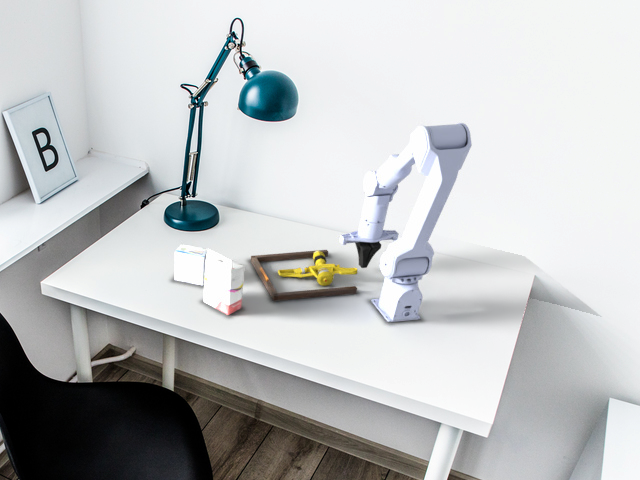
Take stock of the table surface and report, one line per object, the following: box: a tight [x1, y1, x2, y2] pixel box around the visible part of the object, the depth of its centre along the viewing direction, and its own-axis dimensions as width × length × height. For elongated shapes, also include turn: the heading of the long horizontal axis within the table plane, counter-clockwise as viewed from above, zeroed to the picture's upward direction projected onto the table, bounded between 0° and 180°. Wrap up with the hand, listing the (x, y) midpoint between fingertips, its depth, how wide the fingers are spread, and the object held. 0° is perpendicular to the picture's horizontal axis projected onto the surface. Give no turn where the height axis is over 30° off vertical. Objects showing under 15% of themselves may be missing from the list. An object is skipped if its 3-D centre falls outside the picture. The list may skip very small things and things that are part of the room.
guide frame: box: [250, 249, 358, 302], centre depth 168 cm, size 20×21×2 cm
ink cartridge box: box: [203, 248, 245, 316], centre depth 154 cm, size 9×5×15 cm, turn 40°
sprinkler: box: [277, 249, 358, 287], centre depth 169 cm, size 19×4×15 cm
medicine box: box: [174, 243, 209, 287], centre depth 166 cm, size 8×4×9 cm, turn 65°
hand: (362, 266), depth 169 cm, fingers closed
